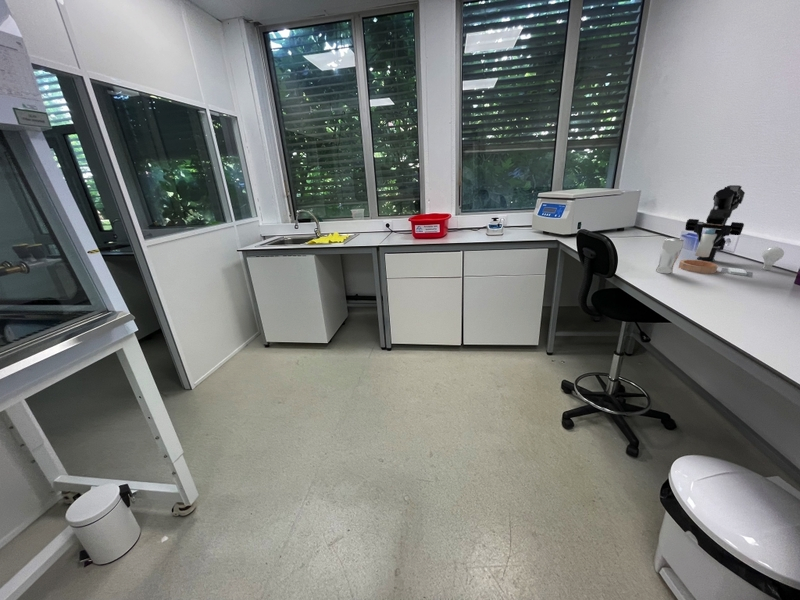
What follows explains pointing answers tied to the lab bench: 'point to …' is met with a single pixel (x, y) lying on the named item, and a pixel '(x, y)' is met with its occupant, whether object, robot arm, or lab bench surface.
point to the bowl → (698, 266)
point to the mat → (724, 270)
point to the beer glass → (669, 255)
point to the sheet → (737, 271)
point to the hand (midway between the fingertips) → (706, 241)
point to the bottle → (706, 243)
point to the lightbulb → (771, 257)
